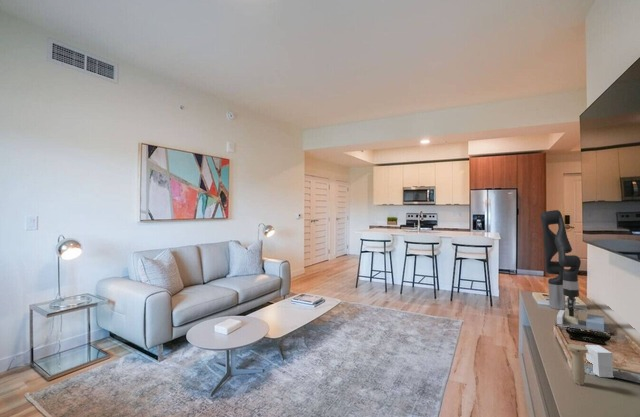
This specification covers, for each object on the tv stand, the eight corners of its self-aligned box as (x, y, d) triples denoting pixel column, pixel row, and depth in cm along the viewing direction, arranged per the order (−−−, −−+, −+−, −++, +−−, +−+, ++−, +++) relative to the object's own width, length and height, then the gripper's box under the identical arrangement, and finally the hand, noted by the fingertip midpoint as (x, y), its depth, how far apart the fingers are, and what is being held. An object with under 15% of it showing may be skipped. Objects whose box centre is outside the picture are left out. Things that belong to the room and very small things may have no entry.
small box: (614, 378, 127) (613, 353, 128) (598, 377, 129) (597, 352, 129) (600, 368, 135) (599, 344, 135) (586, 367, 136) (585, 344, 137)
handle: (590, 388, 121) (588, 350, 121) (570, 384, 124) (568, 347, 124) (588, 382, 125) (586, 346, 125) (568, 378, 128) (566, 343, 129)
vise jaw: (587, 320, 186) (587, 313, 186) (604, 323, 181) (604, 316, 181) (586, 328, 175) (586, 321, 175) (604, 331, 169) (603, 324, 170)
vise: (558, 318, 196) (557, 309, 196) (609, 327, 180) (608, 317, 180) (555, 325, 185) (554, 316, 185) (609, 335, 168) (608, 325, 168)
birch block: (566, 320, 189) (565, 307, 189) (578, 322, 185) (578, 309, 185) (565, 322, 186) (564, 309, 186) (578, 324, 182) (577, 311, 182)
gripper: (564, 284, 193) (565, 310, 193) (561, 289, 183) (563, 316, 183) (579, 286, 188) (580, 312, 188) (578, 291, 178) (579, 318, 178)
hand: (572, 314), depth 185 cm, fingers open, 8 cm apart
